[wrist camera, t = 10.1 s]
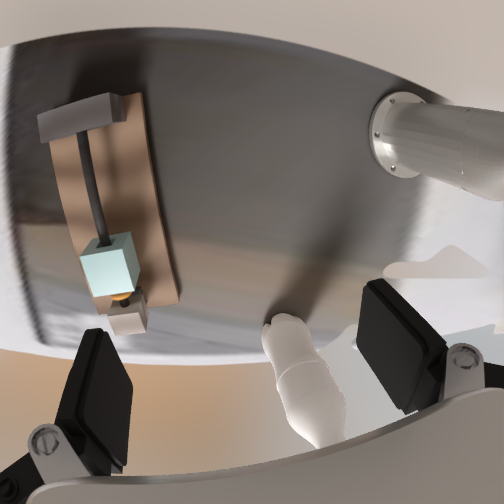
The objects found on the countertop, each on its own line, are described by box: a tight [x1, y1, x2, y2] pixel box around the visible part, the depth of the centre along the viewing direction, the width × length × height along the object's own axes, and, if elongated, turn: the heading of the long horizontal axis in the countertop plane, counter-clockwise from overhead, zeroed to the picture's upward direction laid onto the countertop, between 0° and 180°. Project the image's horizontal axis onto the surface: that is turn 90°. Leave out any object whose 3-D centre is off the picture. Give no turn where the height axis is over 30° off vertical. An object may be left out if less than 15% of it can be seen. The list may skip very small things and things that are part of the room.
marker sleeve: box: [80, 231, 140, 297], centre depth 32 cm, size 5×5×5 cm
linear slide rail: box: [37, 92, 179, 336], centre depth 32 cm, size 27×12×8 cm, turn 5°
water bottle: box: [261, 313, 346, 449], centre depth 36 cm, size 7×7×25 cm
